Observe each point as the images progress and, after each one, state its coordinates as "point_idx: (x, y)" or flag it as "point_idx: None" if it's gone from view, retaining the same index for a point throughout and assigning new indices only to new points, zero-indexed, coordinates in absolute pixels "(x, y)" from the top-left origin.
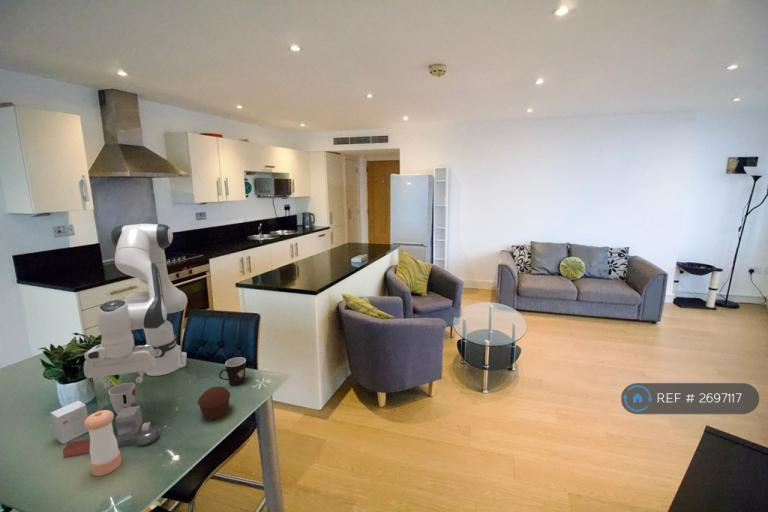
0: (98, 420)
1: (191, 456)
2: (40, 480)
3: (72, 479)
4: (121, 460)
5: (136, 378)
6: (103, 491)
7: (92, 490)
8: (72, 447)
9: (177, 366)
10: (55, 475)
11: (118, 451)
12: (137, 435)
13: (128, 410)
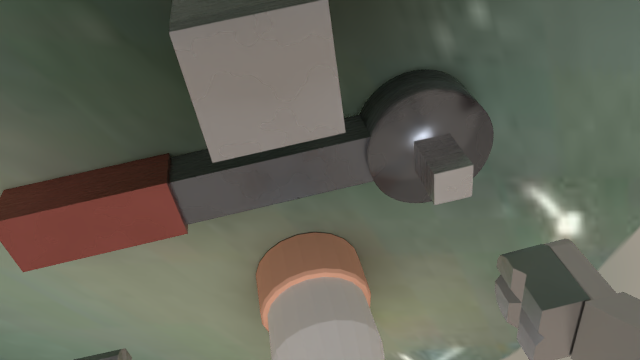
0: None
1: (624, 219)
2: (74, 332)
3: (211, 321)
4: (354, 250)
5: (540, 349)
6: None
7: None
8: (62, 254)
9: None
10: (115, 313)
11: (360, 288)
12: (389, 179)
13: (258, 72)
